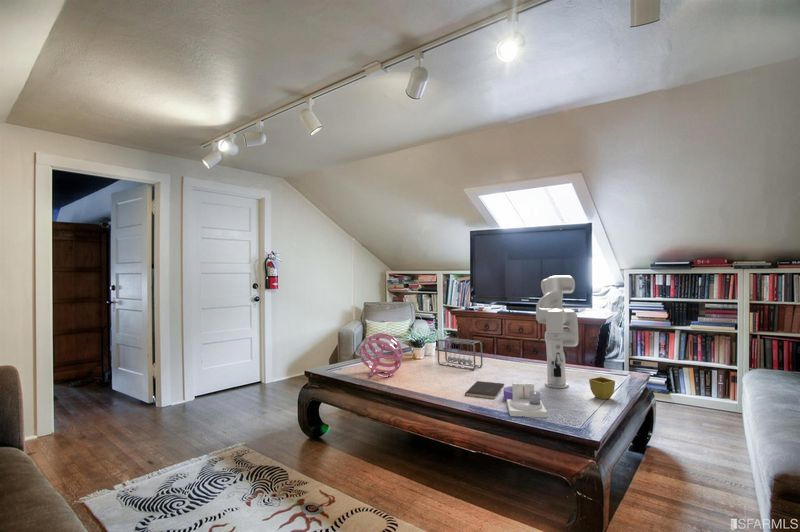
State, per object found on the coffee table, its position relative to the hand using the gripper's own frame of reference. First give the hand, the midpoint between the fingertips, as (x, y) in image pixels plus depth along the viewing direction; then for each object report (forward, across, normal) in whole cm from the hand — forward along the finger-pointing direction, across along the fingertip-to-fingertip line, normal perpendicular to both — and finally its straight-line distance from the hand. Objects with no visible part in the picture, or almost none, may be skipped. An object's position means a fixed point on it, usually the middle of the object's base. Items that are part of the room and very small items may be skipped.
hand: (556, 374), depth 190 cm
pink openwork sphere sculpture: (+16, +57, +93) cm, 111 cm away
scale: (+16, -3, +15) cm, 22 cm away
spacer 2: (0, 0, 0) cm, 0 cm away
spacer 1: (+12, -4, +11) cm, 17 cm away
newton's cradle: (+15, +83, +44) cm, 95 cm away
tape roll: (+16, +13, +17) cm, 27 cm away
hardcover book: (+16, +26, +31) cm, 44 cm away
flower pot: (+16, +18, -26) cm, 35 cm away
